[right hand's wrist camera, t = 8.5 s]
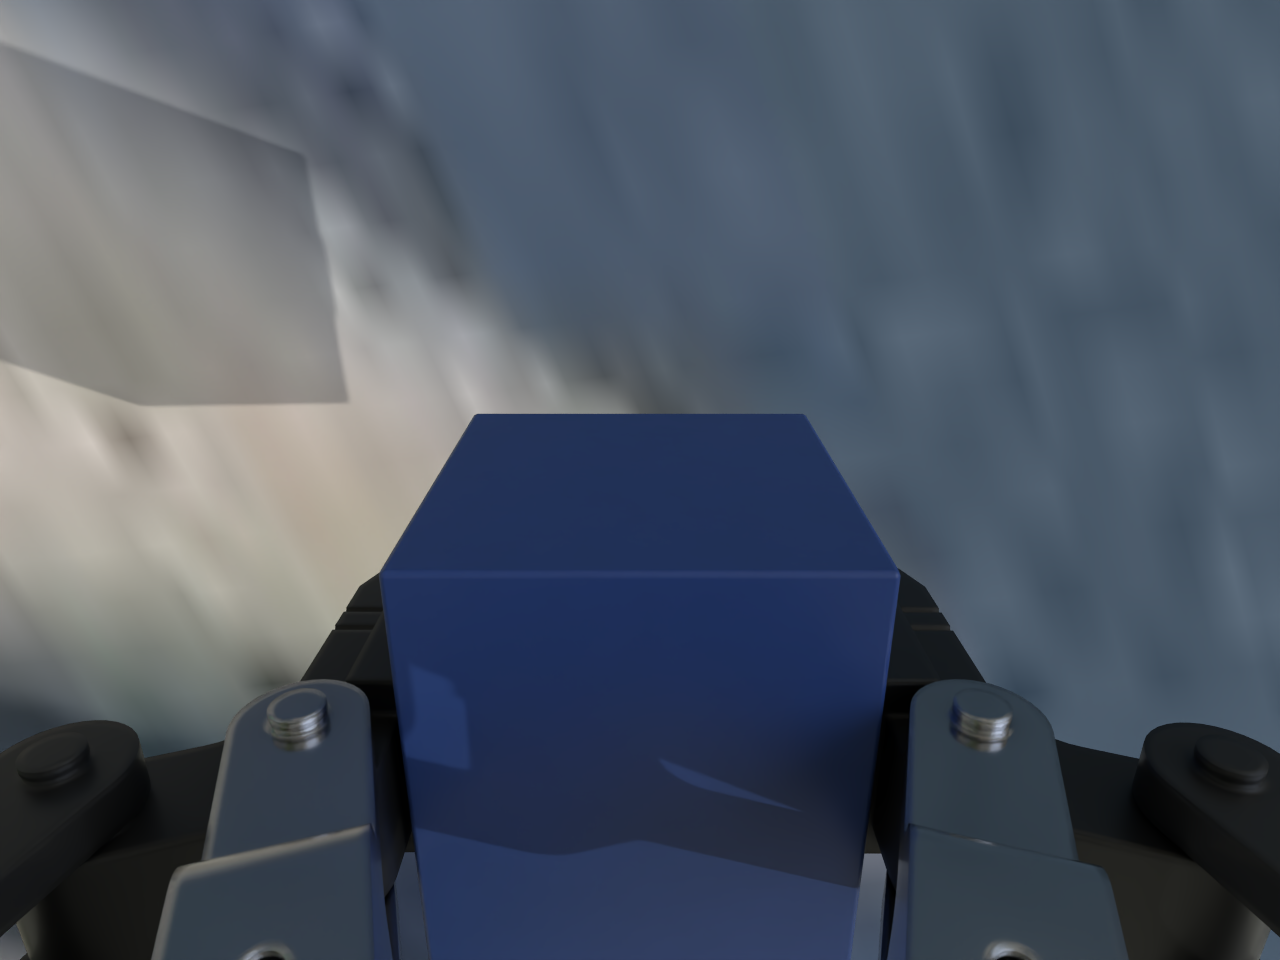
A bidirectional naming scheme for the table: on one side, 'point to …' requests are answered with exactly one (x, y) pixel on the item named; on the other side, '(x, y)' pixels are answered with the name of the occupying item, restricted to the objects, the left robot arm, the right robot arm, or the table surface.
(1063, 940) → the right robot arm
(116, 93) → the table surface
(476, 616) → the block
